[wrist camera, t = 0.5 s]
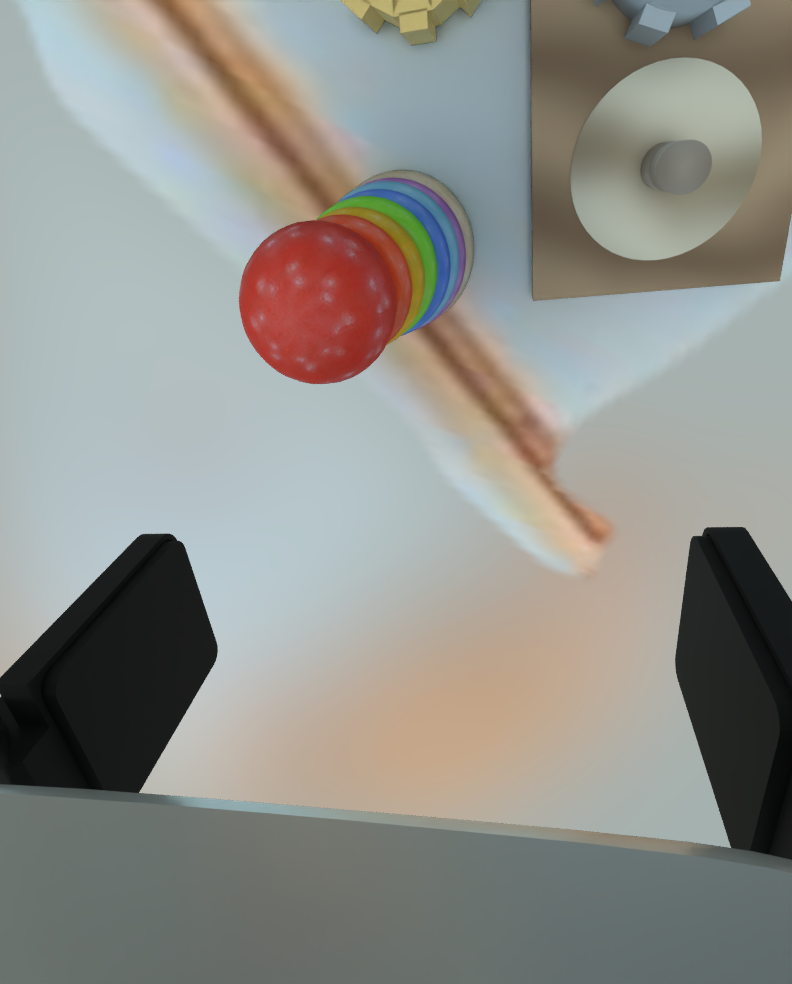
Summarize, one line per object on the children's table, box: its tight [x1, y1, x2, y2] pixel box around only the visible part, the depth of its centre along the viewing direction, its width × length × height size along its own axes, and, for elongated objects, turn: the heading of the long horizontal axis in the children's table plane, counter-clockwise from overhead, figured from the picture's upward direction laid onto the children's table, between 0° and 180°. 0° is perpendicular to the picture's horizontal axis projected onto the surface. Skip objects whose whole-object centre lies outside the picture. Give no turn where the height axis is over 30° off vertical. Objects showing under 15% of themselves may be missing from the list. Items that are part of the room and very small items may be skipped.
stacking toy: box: [239, 170, 474, 384], centre depth 26 cm, size 8×8×19 cm
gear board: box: [530, 0, 792, 301], centre depth 26 cm, size 20×12×6 cm, turn 6°
